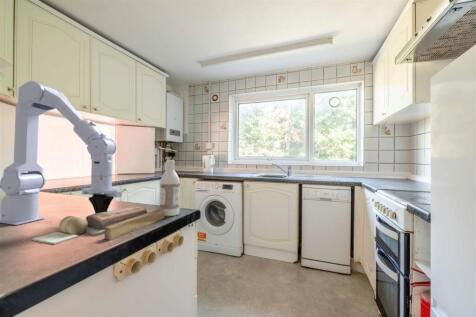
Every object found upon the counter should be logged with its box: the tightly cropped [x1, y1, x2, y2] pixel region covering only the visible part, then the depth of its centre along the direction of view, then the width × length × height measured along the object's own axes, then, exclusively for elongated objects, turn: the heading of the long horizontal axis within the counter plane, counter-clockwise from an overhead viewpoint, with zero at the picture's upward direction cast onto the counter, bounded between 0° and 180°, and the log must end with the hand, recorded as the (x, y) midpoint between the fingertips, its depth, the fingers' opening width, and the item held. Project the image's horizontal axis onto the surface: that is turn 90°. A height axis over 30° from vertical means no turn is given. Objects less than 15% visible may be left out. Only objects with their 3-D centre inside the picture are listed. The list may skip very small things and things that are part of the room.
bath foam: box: [159, 159, 181, 217], centre depth 84 cm, size 7×7×20 cm
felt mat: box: [31, 231, 79, 245], centre depth 57 cm, size 8×6×1 cm
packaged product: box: [84, 206, 148, 237], centre depth 70 cm, size 18×5×10 cm
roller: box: [58, 215, 88, 236], centre depth 62 cm, size 5×4×4 cm
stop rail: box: [104, 208, 165, 241], centre depth 68 cm, size 2×22×3 cm, turn 162°
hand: (101, 218), depth 72 cm, fingers closed
